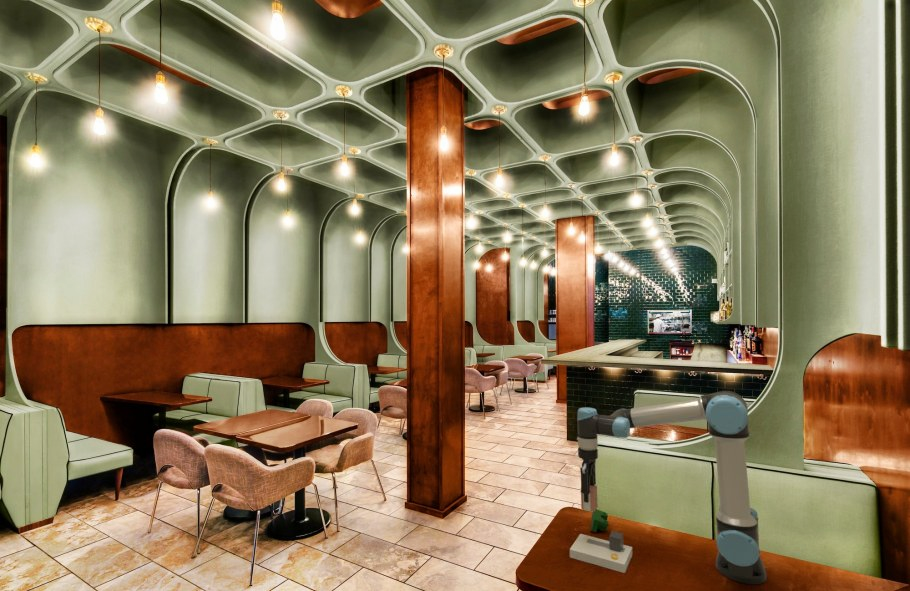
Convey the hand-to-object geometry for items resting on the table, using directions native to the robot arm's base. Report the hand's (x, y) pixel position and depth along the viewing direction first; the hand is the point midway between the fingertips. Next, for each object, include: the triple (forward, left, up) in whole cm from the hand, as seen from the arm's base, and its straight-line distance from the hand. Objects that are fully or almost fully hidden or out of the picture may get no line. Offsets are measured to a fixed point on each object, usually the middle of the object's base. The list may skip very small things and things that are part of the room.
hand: (589, 507), depth 175 cm
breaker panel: (-5, +3, -16) cm, 17 cm away
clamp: (+1, -20, -17) cm, 26 cm away
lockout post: (0, 0, 0) cm, 0 cm away
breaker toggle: (-10, 0, -13) cm, 16 cm away
